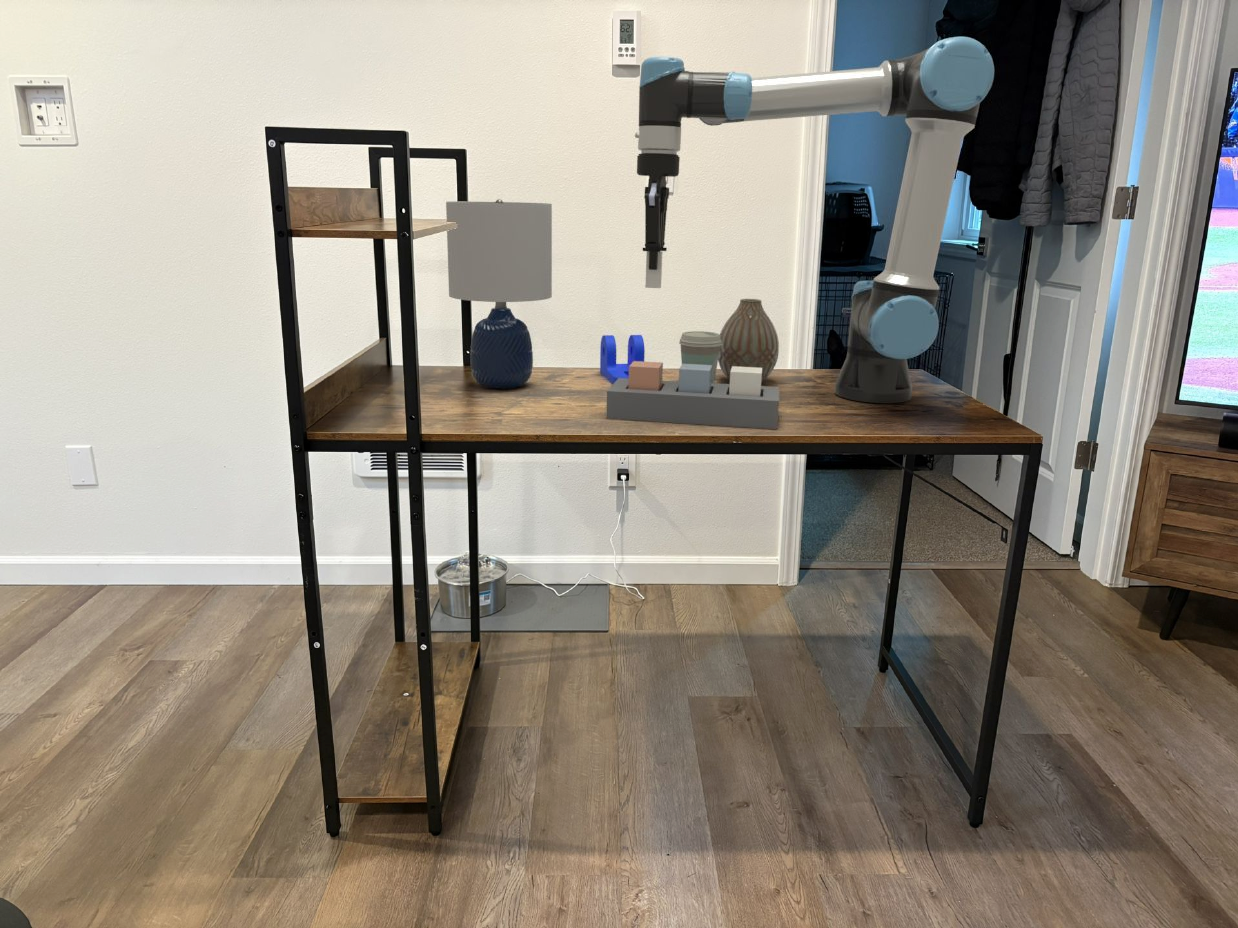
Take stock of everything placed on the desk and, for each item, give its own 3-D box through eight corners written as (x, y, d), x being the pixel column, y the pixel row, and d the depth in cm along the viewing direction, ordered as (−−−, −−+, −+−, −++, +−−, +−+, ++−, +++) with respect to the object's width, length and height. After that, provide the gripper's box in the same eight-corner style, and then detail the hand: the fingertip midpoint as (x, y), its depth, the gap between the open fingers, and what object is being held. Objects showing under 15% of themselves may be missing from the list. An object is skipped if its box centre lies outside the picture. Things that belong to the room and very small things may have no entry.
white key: (760, 391, 164) (762, 367, 163) (759, 398, 159) (761, 373, 158) (730, 390, 165) (732, 366, 164) (728, 396, 160) (730, 371, 159)
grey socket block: (777, 413, 168) (779, 387, 167) (776, 429, 157) (778, 401, 155) (618, 403, 173) (618, 378, 171) (606, 418, 162) (606, 391, 160)
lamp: (503, 401, 173) (500, 200, 162) (431, 386, 184) (423, 197, 174) (571, 385, 188) (573, 201, 178) (501, 372, 200) (498, 198, 189)
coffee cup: (717, 398, 179) (720, 338, 176) (674, 396, 181) (676, 336, 177) (721, 390, 187) (724, 332, 184) (680, 387, 189) (682, 329, 185)
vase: (774, 376, 202) (780, 297, 197) (778, 388, 190) (784, 304, 185) (715, 374, 203) (719, 295, 198) (715, 386, 191) (719, 302, 186)
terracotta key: (662, 386, 167) (662, 362, 166) (658, 392, 162) (659, 367, 161) (633, 384, 168) (633, 361, 167) (628, 390, 163) (628, 366, 162)
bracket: (600, 373, 202) (600, 333, 200) (636, 372, 204) (637, 332, 202) (617, 390, 186) (618, 346, 183) (656, 389, 187) (658, 346, 185)
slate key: (710, 389, 166) (712, 365, 164) (708, 395, 160) (709, 370, 159) (681, 387, 166) (682, 363, 165) (678, 393, 161) (679, 369, 160)
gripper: (643, 154, 168) (639, 283, 174) (631, 150, 155) (627, 290, 162) (683, 155, 166) (677, 285, 173) (674, 151, 154) (668, 292, 161)
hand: (653, 287), depth 168 cm, fingers closed
